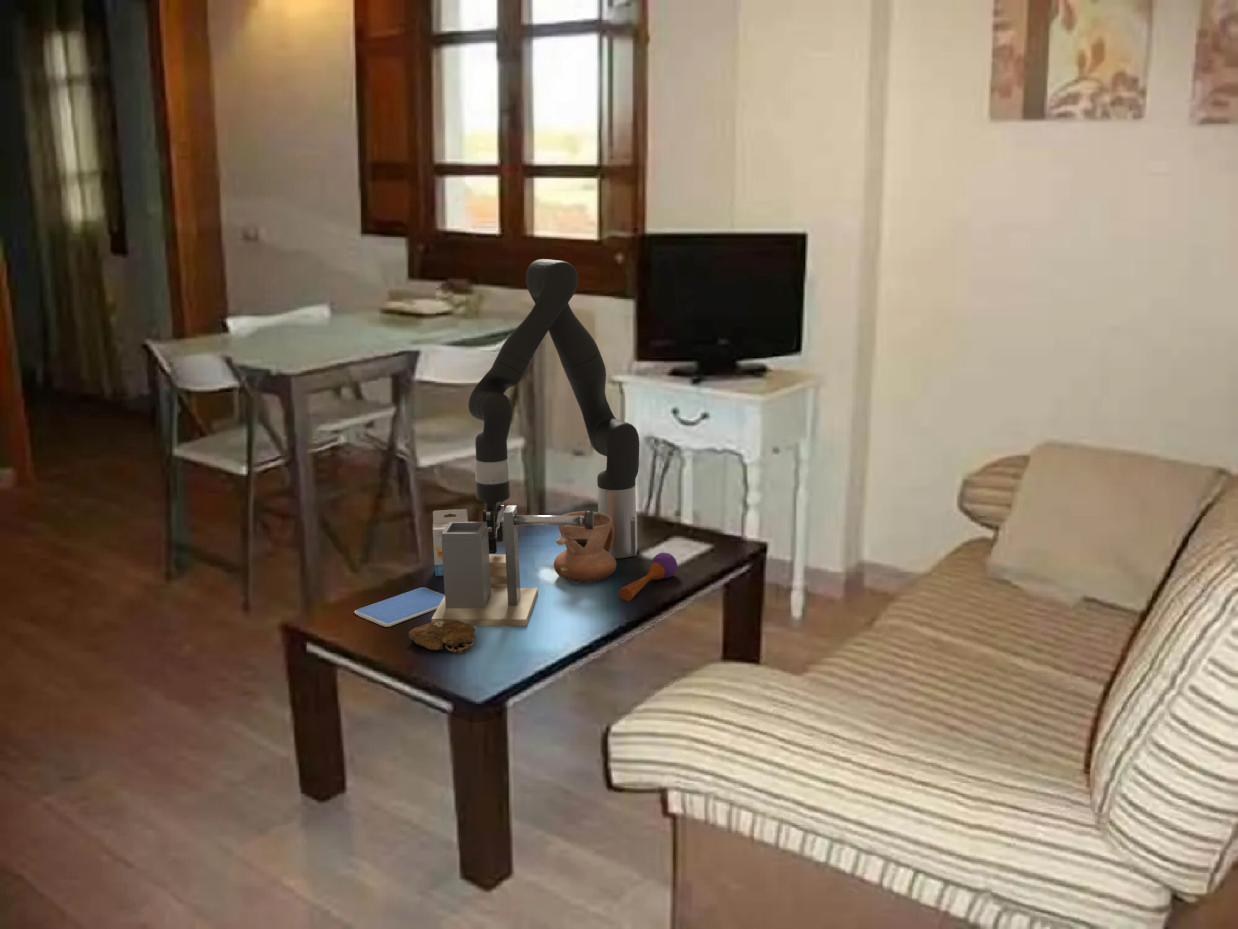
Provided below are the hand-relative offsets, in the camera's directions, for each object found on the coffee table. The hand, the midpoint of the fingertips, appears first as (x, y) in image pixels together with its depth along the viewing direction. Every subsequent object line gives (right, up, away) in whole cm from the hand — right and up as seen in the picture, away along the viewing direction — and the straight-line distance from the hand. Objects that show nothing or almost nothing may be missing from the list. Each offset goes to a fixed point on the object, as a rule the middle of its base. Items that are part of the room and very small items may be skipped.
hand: (495, 547), depth 270 cm
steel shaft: (+13, +5, -17) cm, 22 cm away
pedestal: (-5, -11, -11) cm, 16 cm away
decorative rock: (-7, -18, -29) cm, 34 cm away
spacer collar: (0, -9, +3) cm, 9 cm away
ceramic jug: (+21, -7, +7) cm, 23 cm away
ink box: (-11, -7, +11) cm, 17 cm away
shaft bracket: (+5, -11, -12) cm, 17 cm away
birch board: (-1, -13, -12) cm, 17 cm away
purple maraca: (+35, -9, 0) cm, 36 cm away
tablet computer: (-18, -13, -9) cm, 25 cm away
